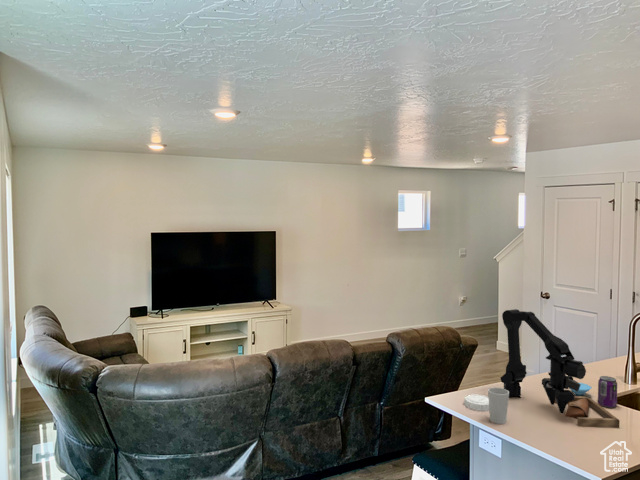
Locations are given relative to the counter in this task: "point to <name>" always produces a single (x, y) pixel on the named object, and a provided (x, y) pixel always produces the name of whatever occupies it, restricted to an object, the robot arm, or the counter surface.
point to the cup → (498, 404)
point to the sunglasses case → (578, 409)
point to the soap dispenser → (581, 389)
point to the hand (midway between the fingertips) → (556, 408)
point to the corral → (606, 421)
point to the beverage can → (607, 391)
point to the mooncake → (477, 402)
